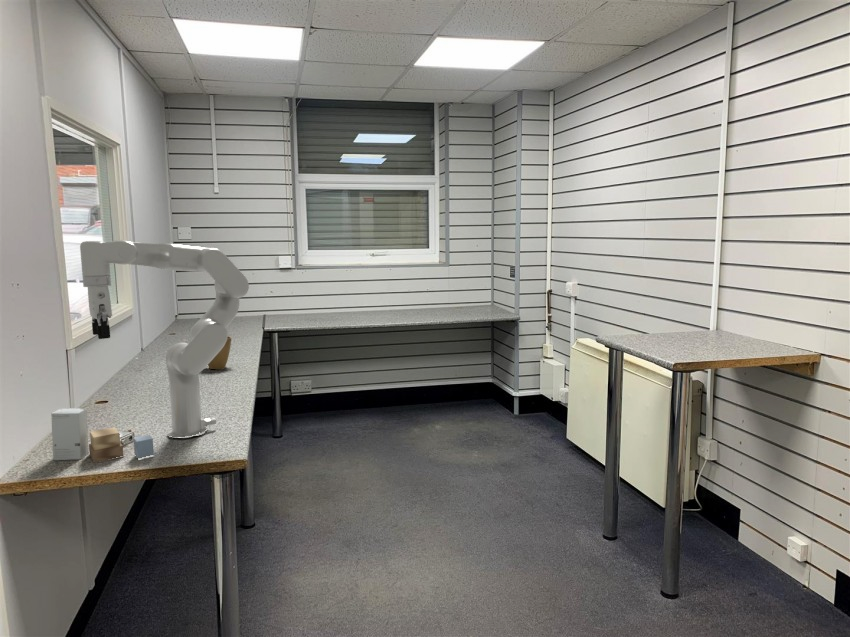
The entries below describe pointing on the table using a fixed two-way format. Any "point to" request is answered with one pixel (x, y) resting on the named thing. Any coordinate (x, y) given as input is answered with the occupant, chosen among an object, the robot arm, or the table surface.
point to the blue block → (143, 446)
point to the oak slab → (105, 438)
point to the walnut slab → (105, 453)
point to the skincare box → (69, 434)
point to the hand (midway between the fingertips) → (101, 336)
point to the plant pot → (221, 356)
